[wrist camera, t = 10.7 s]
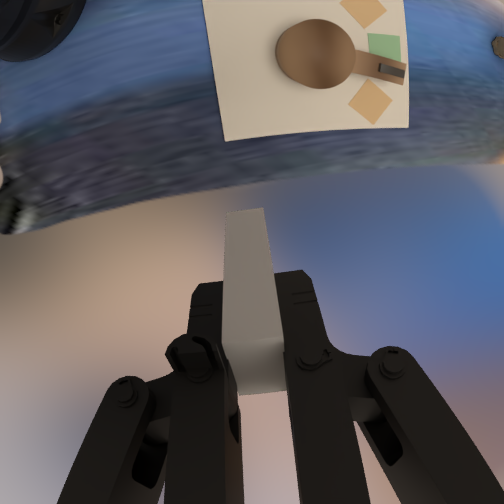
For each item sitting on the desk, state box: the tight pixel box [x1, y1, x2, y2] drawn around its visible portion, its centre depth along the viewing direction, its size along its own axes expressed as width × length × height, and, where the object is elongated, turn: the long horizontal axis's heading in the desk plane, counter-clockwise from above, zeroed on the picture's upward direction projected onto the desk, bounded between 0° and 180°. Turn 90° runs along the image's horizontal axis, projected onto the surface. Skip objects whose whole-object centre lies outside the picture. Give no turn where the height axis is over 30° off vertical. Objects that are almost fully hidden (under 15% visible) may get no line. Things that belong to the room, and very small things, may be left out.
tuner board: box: [202, 0, 409, 141], centre depth 28 cm, size 18×22×1 cm
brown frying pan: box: [275, 19, 407, 89], centre depth 26 cm, size 13×7×5 cm, turn 85°
